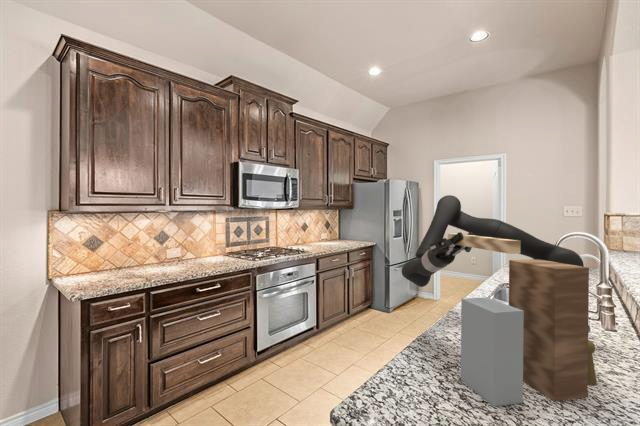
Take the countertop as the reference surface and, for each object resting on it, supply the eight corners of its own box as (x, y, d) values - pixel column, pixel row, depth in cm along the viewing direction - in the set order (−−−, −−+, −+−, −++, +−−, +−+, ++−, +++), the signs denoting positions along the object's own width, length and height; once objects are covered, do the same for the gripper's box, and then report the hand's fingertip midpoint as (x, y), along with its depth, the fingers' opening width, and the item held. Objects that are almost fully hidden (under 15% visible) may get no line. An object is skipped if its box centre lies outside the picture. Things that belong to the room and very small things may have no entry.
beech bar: (520, 253, 73) (520, 240, 73) (509, 253, 72) (509, 240, 72) (456, 243, 96) (456, 233, 96) (447, 243, 96) (447, 233, 96)
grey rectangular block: (522, 402, 74) (523, 310, 74) (493, 406, 73) (494, 312, 73) (486, 376, 86) (487, 297, 86) (460, 379, 84) (461, 298, 84)
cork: (602, 386, 82) (603, 344, 82) (576, 384, 83) (576, 342, 83) (587, 375, 88) (588, 336, 88) (563, 372, 89) (563, 334, 89)
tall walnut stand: (587, 396, 77) (588, 267, 77) (554, 401, 75) (555, 268, 75) (537, 368, 91) (538, 259, 91) (508, 372, 89) (509, 260, 89)
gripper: (415, 247, 104) (441, 223, 90) (452, 247, 107) (484, 223, 92) (420, 268, 101) (449, 247, 86) (459, 267, 103) (493, 246, 89)
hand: (467, 235), depth 89 cm, fingers closed on beech bar, 3 cm apart
